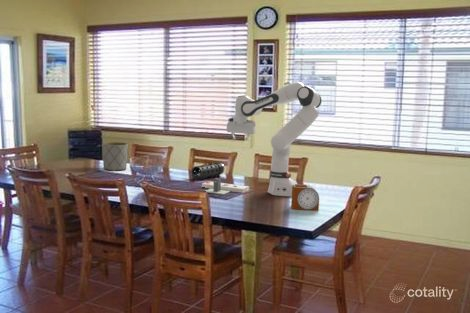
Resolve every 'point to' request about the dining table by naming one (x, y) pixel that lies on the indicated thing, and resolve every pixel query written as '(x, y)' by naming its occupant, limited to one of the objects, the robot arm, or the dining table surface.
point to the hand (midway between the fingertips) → (240, 139)
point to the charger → (217, 185)
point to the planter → (115, 155)
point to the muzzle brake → (207, 170)
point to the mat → (217, 192)
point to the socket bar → (227, 187)
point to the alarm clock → (304, 197)
